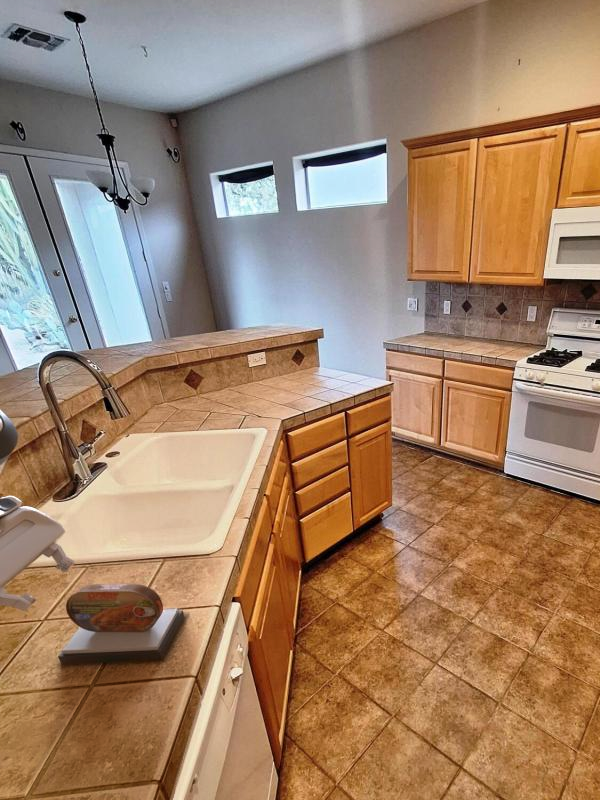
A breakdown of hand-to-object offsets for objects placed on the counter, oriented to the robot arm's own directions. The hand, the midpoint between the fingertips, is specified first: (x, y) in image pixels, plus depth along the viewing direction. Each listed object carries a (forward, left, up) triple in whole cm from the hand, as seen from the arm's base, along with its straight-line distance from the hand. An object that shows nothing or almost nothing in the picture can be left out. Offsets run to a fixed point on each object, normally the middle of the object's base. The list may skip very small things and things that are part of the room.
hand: (52, 585), depth 69 cm
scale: (+8, +1, -13) cm, 15 cm away
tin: (+8, +1, -10) cm, 13 cm away
